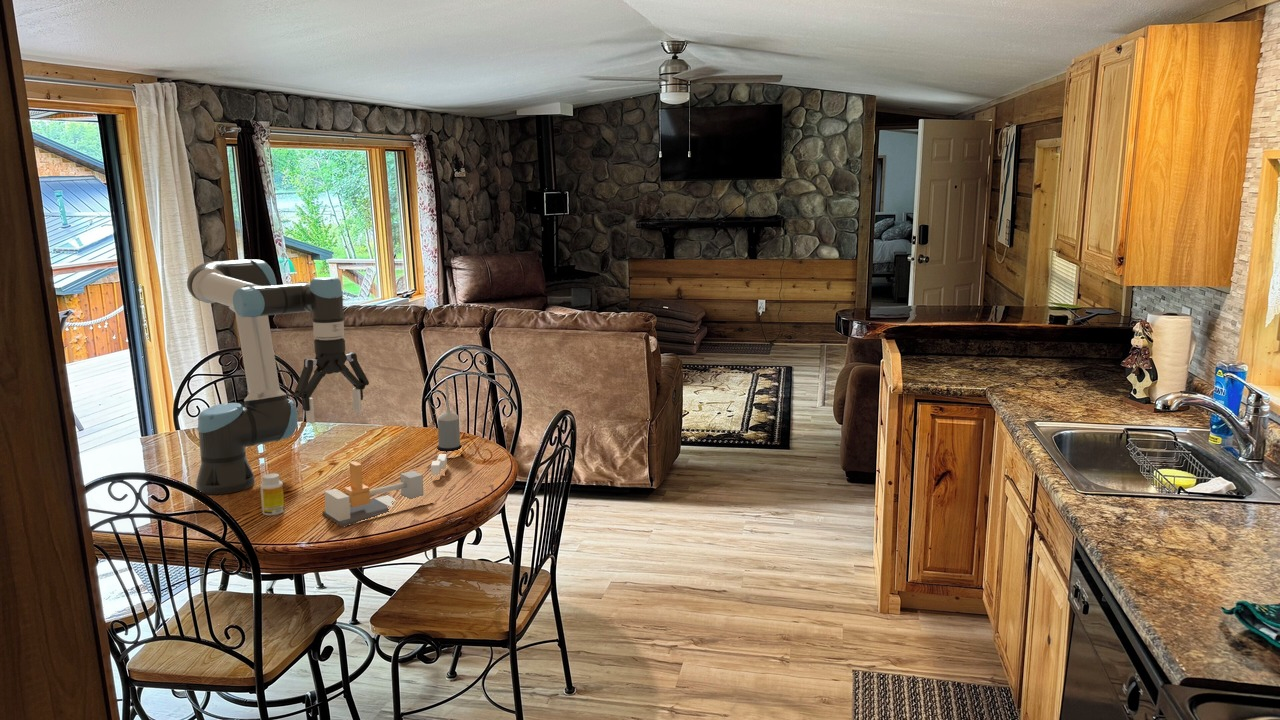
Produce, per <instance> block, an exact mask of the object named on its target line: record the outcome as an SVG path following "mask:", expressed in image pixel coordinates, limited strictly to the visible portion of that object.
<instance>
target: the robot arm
mask: <svg viewBox="0 0 1280 720" xmlns="http://www.w3.org/2000/svg"><path fill="white" fill-rule="evenodd" d="M186 280H187V281H186V287H187V290H188V292H189V293H190V295H191V296H192V297H193V298H194V299H196V300H197V301H199V302H203V303H206V304H215V303H218V304H222V305H224V306H227V307H228V309H230V311H233V312H234V314H235V318H236V319H235V320H236V325H237V330H238V336H239V343H240V348H241V355H242V360H243V362H242V363H243V367H244V373H245V374H244V375H245V378H246V379H245V381H246V385H247V391H248V394H247V396H246V397H245V398H244V399H243V402H244V406H243V405H242V404H241V403H239V402H228V403H220V404H215V405H212V406H210V407H207V408H205V409H203V410H202V411H201V412H199V414H198V417H197V431H198V440H199V452H200V466H199V469H198V473H197V478H196V481H195V483H196V484H195V485H196V491H197V490H199V491H201V492H202V493H201V494H205V495H226V494H232V493H233V494H234V493H237V492H241V491H245V490H247V489H249V488H251V487H253V486H254V485H255V483H256V481H255V475H254V472H253V470H252V467H251V465H250V463H249V461H248V459H247V452H246V451H247V450H246V448H247V447H254V446H257V445H263V444H267V443H273V442H279V441H282V440H287V439H289V438H291V437H292V436H293V435H294V433H295V432H296V429H297V427H298V419H299V416H298V415H299V413H298V408H297V406H296V403H295V402H294V401H293V400H292V399H289V398H288V397H287V396H288V395H287V393H286V392H285V391H283V390H282V389H281V388H280V382H279V377H278V376H279V375H278V369H277V362H276V357H275V350H274V344H273V339H272V332H271V327H270V320H269V316H274V315H275V316H276V315H287V314H296V313H299V314H300V313H312V314H311V315H312V331H313V333H312V334H313V337H314V338H315V339H314V340H313V342H314V343H313V344H314V353H315V358H314V359H310V358H304V359H303V368H302V370H301V374H300V376H299V378H298V381H297V383H296V384H297V385H296V387H295V389H294V392H293V395H294V396H295V397H298V398H301V404H302V410H303V411H305V419H306V421H305V422H306V423H309V424H315V423H316V419H315V407H314V406H315V405H314V398H313V397H311V396H312V395H313V393H314V392H315V390H316V389H317V387H318V385H320V382H321V381H322V379H323V378H324V377H325V376H326V375H331V374H334V373H335V374H336V373H337V374H339V373H341V374H342V375H343V376H344V377H345V378H346V379H347V380H348V382H350V384H352V386H353V387H354V388H351V393H352V397H351V398H352V410H353V411H352V412H353V413H355V414H362V412H363V411H362V401H363V400H364V394H363V393H364V390H365V389H366V386H369V385H370V381H369V380H368V377H367V375H366V374H365V372H364V370H363V368H362V367H361V364H360V363H359V361H358V355H357V353H355V352H348V353H347V354H346V351H347V349H346V339H345V338H344V335H345V322H344V321H345V319H344V301H343V300H344V298H343V293H344V292H343V289H342V282H341V279H340V278H339V277H336V276H335V277H334V276H333V277H332V276H323V277H319V276H318V277H313V278H311V280H310V282H308V281H303V282H301V281H299V282H294V283H291V284H289V283H288V284H277V278H276V276H275V273H274V271H273V268H271V266H270V265H269V264H268V262H266V261H265V260H261V259H250V258H249V259H235V260H234V259H231V260H213V261H206V262H204V263H201V264H199V265H198V266H196V267H194V268H193V269H192V270H191V272H190V273H189V274H188V277H187V279H186ZM346 362H348V363H349V365H350V367H351V369H352V370H353V372H354V373H352V372H351V371H350V369H349V368H348V367H347V366H346V364H345V363H346ZM315 366H316V368H315ZM314 368H315V370H314ZM313 370H314V372H313ZM312 373H313V374H312ZM354 374H355V375H354Z"/></svg>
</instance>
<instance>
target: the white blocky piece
mask: <svg viewBox="0 0 1280 720" xmlns="http://www.w3.org/2000/svg"><path fill="white" fill-rule="evenodd" d="M446 463H447V464H448V459H447V454H439V455H438V457H436V460H432V462H431V465H430V473H431V475H435V474H436V475H437V474H440V471H441V469H445V467H446Z"/></svg>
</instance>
